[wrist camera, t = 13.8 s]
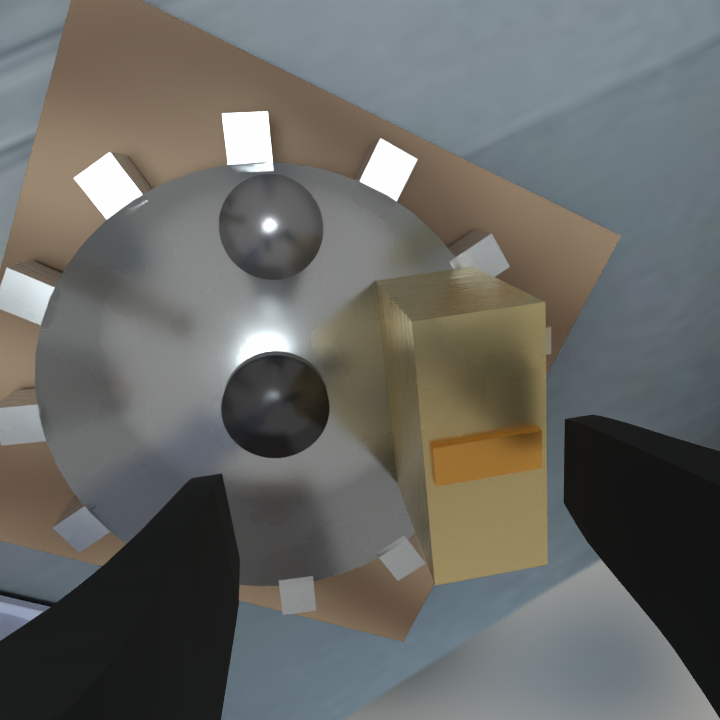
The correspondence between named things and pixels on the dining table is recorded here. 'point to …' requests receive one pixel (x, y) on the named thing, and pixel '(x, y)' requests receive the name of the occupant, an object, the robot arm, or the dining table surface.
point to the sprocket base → (208, 150)
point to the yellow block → (468, 418)
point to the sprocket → (233, 355)
